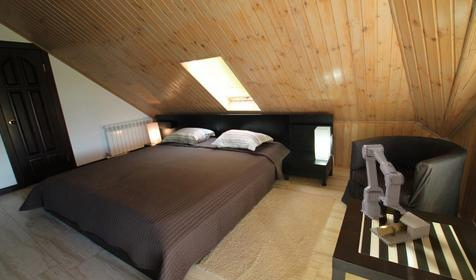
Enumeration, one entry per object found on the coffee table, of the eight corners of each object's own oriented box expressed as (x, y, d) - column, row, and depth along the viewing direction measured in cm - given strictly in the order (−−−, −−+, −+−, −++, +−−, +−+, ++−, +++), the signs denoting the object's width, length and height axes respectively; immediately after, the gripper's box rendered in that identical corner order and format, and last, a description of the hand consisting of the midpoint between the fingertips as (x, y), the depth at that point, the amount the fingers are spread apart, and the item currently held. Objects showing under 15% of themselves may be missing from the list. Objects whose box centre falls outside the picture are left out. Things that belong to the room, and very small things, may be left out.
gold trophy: (375, 231, 117) (376, 224, 116) (397, 226, 119) (398, 219, 118) (383, 238, 112) (384, 231, 110) (407, 233, 114) (408, 226, 113)
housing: (370, 230, 120) (371, 219, 118) (407, 222, 124) (408, 211, 122) (388, 245, 109) (389, 233, 107) (428, 236, 112) (430, 224, 111)
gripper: (374, 189, 116) (372, 211, 120) (397, 204, 103) (394, 228, 106) (386, 187, 117) (383, 209, 121) (410, 201, 104) (407, 225, 107)
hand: (389, 218), depth 114 cm, fingers open, 7 cm apart
